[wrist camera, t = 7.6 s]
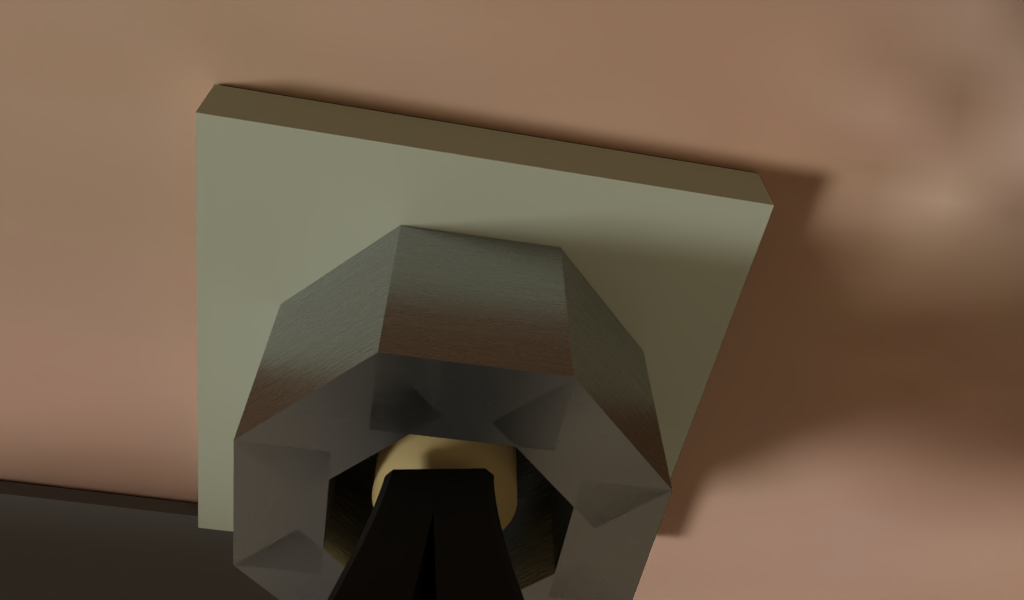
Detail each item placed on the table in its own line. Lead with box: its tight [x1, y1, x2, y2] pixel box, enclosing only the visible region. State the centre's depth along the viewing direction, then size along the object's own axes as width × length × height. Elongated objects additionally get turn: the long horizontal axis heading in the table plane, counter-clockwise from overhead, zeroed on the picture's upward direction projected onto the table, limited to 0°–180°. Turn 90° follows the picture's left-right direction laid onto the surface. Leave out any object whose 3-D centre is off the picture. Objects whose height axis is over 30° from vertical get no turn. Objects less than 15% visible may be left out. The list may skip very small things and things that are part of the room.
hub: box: [196, 85, 774, 532], centre depth 14 cm, size 8×8×4 cm
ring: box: [233, 225, 672, 600], centre depth 14 cm, size 6×6×3 cm
